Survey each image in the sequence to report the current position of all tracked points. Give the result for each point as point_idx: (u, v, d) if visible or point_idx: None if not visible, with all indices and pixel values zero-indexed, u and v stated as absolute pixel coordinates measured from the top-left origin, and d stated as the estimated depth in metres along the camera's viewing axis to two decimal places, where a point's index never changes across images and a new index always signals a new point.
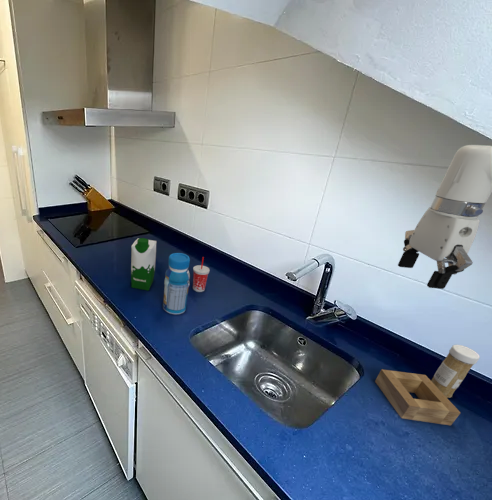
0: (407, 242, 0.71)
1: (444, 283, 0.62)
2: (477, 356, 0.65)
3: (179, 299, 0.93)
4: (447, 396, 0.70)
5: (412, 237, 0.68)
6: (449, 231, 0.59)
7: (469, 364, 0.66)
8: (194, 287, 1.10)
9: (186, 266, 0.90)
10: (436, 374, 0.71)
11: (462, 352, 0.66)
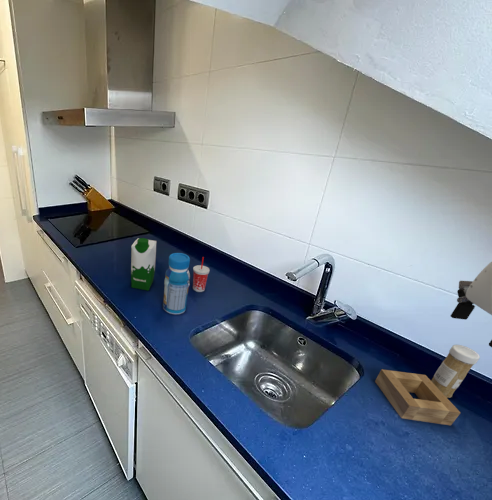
0: (462, 293, 0.68)
1: None
2: (477, 356, 0.65)
3: (179, 299, 0.93)
4: (447, 396, 0.70)
5: (469, 290, 0.65)
6: None
7: (469, 364, 0.66)
8: (194, 287, 1.10)
9: (186, 266, 0.90)
10: (436, 374, 0.71)
11: (462, 352, 0.66)
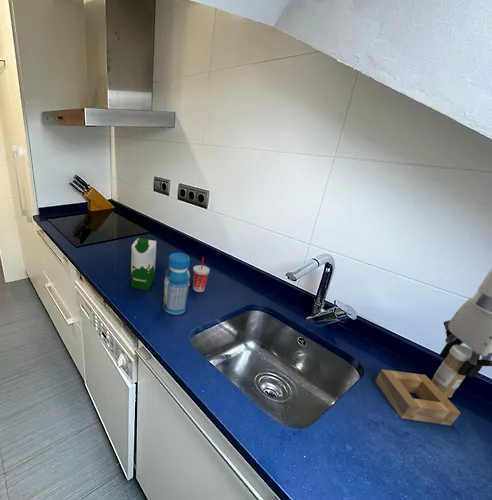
0: (450, 333, 0.70)
1: (475, 373, 0.65)
2: None
3: (179, 299, 0.93)
4: (447, 396, 0.70)
5: (451, 323, 0.69)
6: None
7: None
8: (194, 287, 1.10)
9: (186, 266, 0.90)
10: (436, 374, 0.71)
11: (462, 352, 0.66)
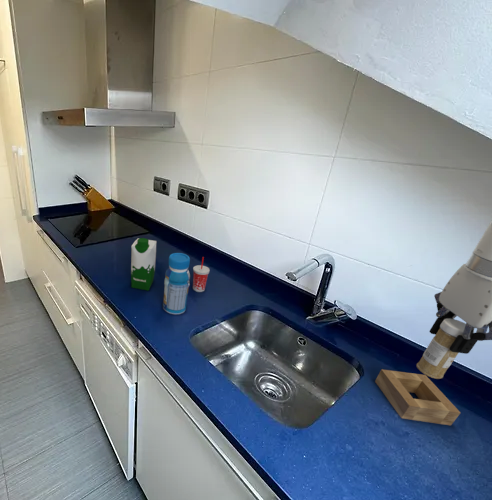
0: (441, 306, 0.62)
1: (469, 349, 0.57)
2: None
3: (179, 299, 0.93)
4: (437, 377, 0.62)
5: (443, 294, 0.61)
6: (490, 297, 0.52)
7: None
8: (194, 287, 1.10)
9: (186, 266, 0.90)
10: (425, 352, 0.64)
11: (454, 326, 0.58)
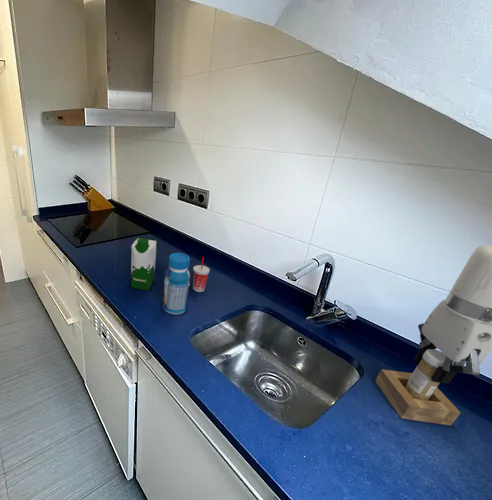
0: (424, 336, 0.66)
1: (449, 380, 0.61)
2: None
3: (179, 299, 0.93)
4: None
5: (425, 326, 0.64)
6: (466, 334, 0.55)
7: None
8: (194, 287, 1.10)
9: (186, 266, 0.90)
10: (410, 380, 0.67)
11: (435, 358, 0.62)
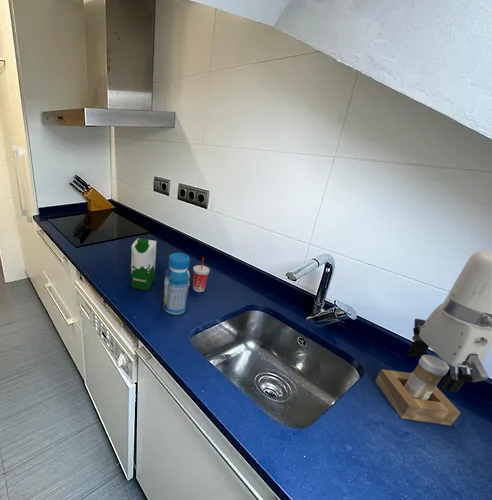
0: (417, 331, 0.68)
1: (457, 388, 0.59)
2: (446, 367, 0.62)
3: (179, 299, 0.93)
4: None
5: (422, 330, 0.65)
6: (463, 339, 0.56)
7: (438, 375, 0.62)
8: (194, 287, 1.10)
9: (186, 266, 0.90)
10: (406, 385, 0.68)
11: (431, 363, 0.63)
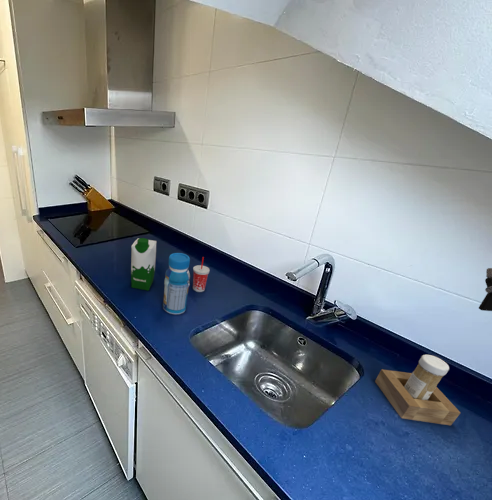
0: (490, 282, 0.61)
1: None
2: (446, 367, 0.62)
3: (179, 299, 0.93)
4: None
5: None
6: None
7: (438, 376, 0.62)
8: (194, 287, 1.10)
9: (186, 266, 0.90)
10: (406, 385, 0.68)
11: (431, 363, 0.63)
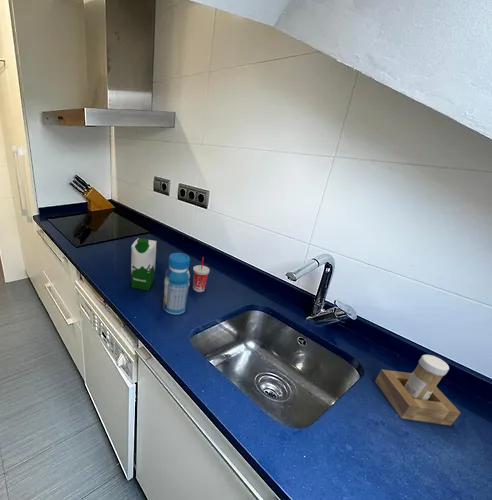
0: None
1: None
2: (446, 367, 0.62)
3: (179, 299, 0.93)
4: None
5: None
6: None
7: (438, 375, 0.62)
8: (194, 287, 1.10)
9: (186, 266, 0.90)
10: (406, 385, 0.68)
11: (431, 363, 0.63)
